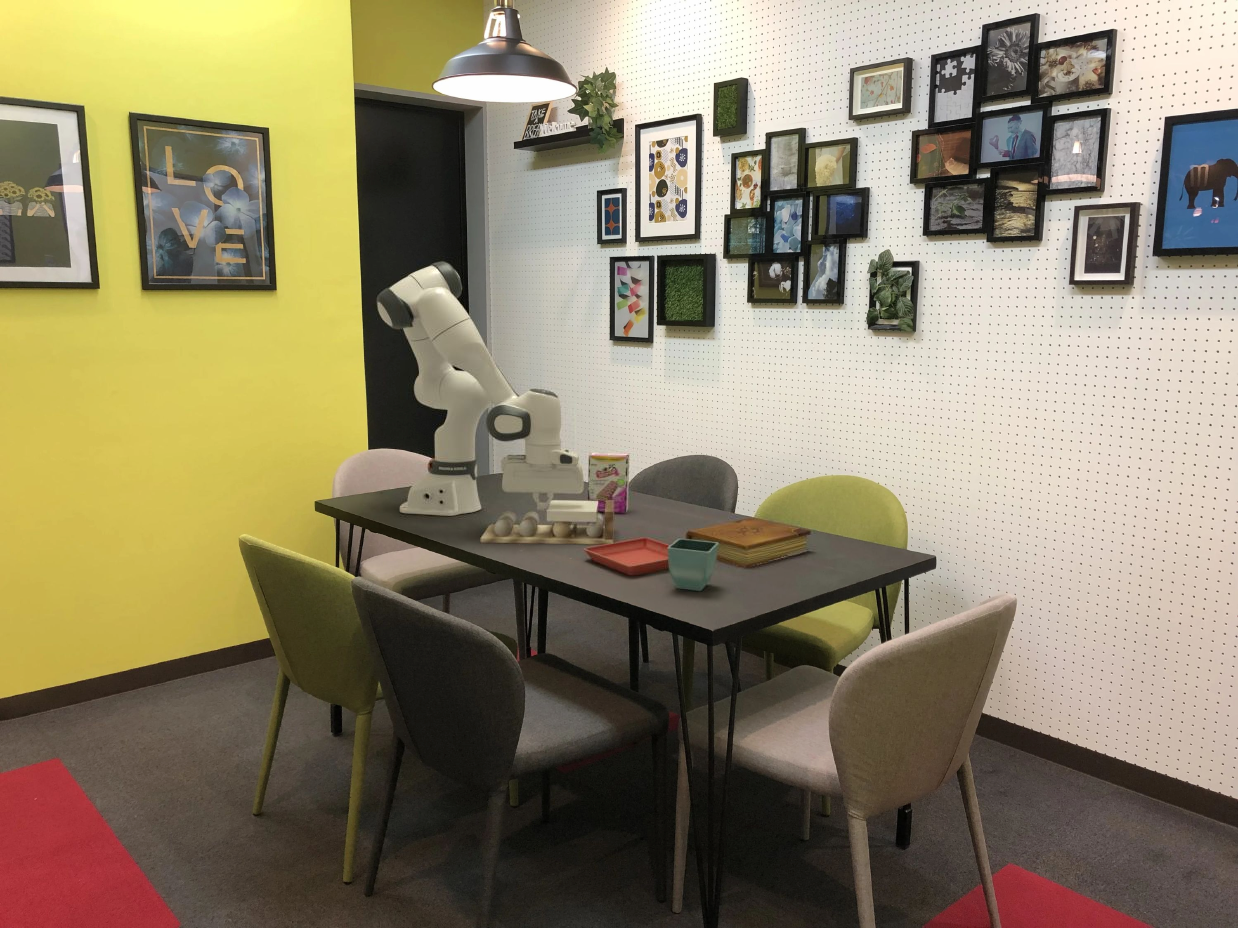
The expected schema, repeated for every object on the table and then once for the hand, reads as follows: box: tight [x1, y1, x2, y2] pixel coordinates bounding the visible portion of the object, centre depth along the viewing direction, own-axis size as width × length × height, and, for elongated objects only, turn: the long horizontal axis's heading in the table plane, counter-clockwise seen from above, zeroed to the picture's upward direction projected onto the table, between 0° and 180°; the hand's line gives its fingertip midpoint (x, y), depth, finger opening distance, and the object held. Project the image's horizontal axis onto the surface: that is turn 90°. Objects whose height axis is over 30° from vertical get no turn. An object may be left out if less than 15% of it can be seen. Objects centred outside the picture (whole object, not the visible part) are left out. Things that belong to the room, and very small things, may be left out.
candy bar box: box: [587, 452, 630, 514], centre depth 261 cm, size 11×5×16 cm, turn 84°
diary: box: [685, 517, 812, 569], centre depth 220 cm, size 23×19×6 cm
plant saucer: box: [583, 537, 671, 576], centre depth 208 cm, size 18×18×3 cm
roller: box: [553, 521, 573, 538], centre depth 232 cm, size 4×11×4 cm, turn 179°
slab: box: [546, 499, 599, 523], centre depth 231 cm, size 12×13×2 cm
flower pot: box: [667, 538, 719, 592], centre depth 190 cm, size 9×9×9 cm
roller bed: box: [480, 500, 615, 545], centre depth 232 cm, size 32×15×8 cm, turn 89°
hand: (543, 510), depth 231 cm, fingers closed
